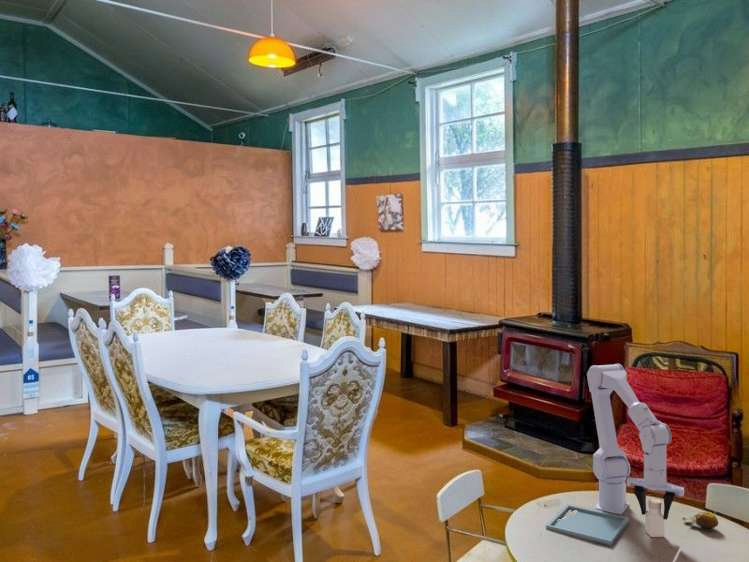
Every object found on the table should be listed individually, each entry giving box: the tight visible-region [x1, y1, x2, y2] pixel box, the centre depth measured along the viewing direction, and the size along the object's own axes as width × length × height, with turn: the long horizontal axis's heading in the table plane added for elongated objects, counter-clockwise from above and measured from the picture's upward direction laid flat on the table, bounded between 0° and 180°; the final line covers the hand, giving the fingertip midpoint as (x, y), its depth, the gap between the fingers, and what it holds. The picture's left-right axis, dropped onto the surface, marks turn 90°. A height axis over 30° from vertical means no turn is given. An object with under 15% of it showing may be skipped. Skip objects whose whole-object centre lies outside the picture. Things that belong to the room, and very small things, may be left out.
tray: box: [545, 504, 629, 547], centre depth 183 cm, size 18×18×2 cm
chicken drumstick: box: [682, 511, 719, 530], centre depth 183 cm, size 8×8×4 cm
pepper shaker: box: [644, 498, 665, 538], centre depth 177 cm, size 4×4×10 cm
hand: (654, 515), depth 177 cm, fingers closed on pepper shaker, 5 cm apart
